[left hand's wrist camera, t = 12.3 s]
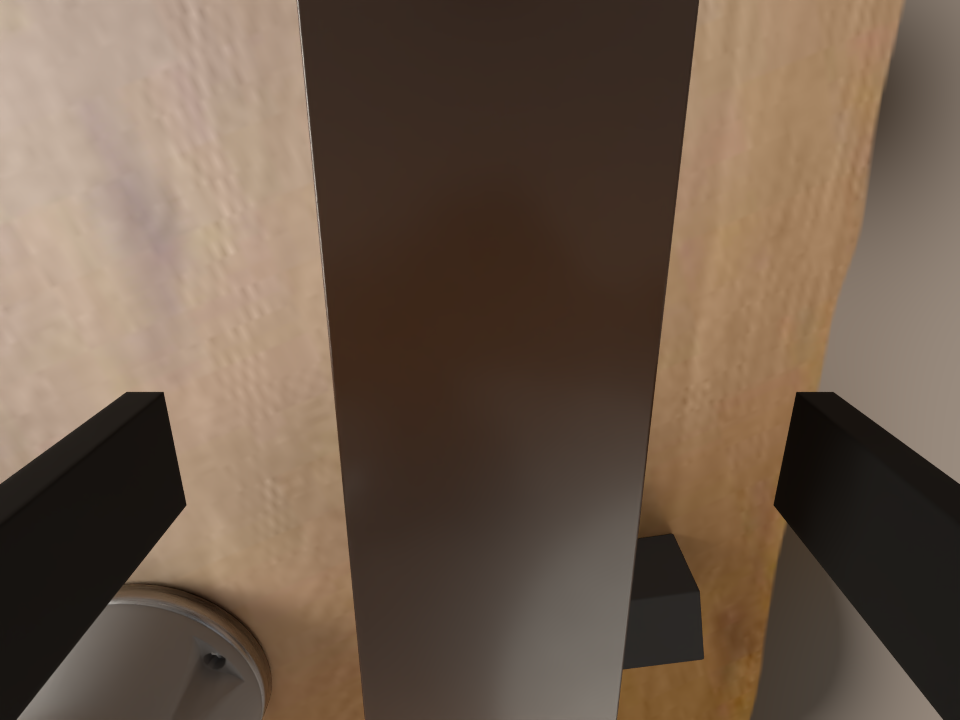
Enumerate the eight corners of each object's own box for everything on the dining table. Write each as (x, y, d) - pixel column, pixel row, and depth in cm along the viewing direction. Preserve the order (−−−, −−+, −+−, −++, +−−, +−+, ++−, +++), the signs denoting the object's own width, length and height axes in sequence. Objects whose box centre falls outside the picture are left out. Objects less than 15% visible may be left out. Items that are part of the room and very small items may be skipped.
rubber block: (678, 596, 39) (704, 659, 34) (601, 606, 39) (616, 670, 34) (673, 533, 37) (700, 590, 32) (592, 544, 37) (607, 603, 33)
